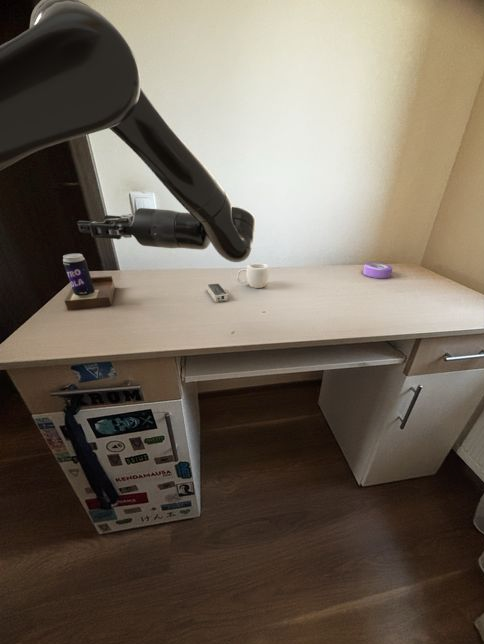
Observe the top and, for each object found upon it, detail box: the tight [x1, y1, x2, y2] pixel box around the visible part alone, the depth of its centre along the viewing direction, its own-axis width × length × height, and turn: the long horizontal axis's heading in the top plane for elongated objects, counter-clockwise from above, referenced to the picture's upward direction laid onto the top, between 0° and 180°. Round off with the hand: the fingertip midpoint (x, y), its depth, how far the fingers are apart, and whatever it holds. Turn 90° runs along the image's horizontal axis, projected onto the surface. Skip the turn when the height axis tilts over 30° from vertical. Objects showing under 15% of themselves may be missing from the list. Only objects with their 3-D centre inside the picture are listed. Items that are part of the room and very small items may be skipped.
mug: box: [236, 262, 270, 289], centre depth 106 cm, size 12×8×8 cm
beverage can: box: [62, 253, 95, 297], centre depth 85 cm, size 6×6×12 cm
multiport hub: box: [206, 283, 229, 303], centre depth 98 cm, size 4×11×2 cm, turn 24°
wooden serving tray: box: [64, 275, 116, 311], centre depth 92 cm, size 12×16×4 cm
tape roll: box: [362, 261, 393, 279], centre depth 124 cm, size 12×12×4 cm
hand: (93, 223), depth 62 cm, fingers open, 8 cm apart
